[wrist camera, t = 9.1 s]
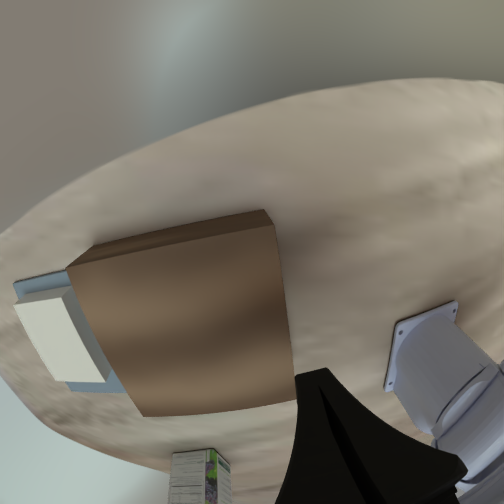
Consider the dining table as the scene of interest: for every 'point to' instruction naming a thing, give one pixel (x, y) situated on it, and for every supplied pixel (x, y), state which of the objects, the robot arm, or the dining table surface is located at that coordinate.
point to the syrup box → (199, 478)
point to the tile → (63, 335)
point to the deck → (192, 315)
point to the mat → (59, 281)
